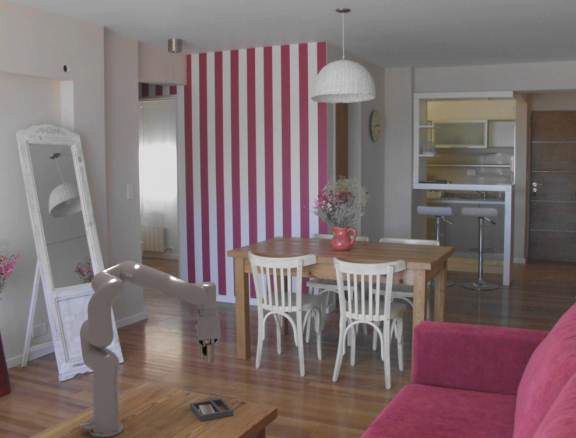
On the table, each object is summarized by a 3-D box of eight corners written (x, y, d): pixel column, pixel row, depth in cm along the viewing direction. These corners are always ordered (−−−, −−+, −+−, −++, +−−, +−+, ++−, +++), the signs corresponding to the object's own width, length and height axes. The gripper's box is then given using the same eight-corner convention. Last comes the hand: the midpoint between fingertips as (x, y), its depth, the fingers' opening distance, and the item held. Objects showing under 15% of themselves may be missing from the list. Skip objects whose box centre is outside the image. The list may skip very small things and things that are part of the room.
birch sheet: (200, 356, 282) (209, 363, 271) (200, 340, 281) (208, 346, 271) (205, 356, 283) (213, 362, 272) (204, 340, 282) (213, 345, 271)
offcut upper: (203, 418, 259) (203, 414, 259) (198, 409, 269) (198, 405, 269) (215, 417, 261) (215, 413, 261) (210, 407, 270) (210, 404, 270)
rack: (200, 423, 257) (200, 416, 256) (190, 410, 269) (190, 403, 269) (233, 417, 262) (233, 410, 262) (221, 405, 275) (221, 398, 275)
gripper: (191, 315, 267) (192, 359, 269) (228, 311, 274) (228, 354, 275) (186, 311, 274) (187, 354, 276) (222, 307, 280) (222, 349, 282)
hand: (207, 354), depth 276 cm, fingers closed on birch sheet, 1 cm apart
